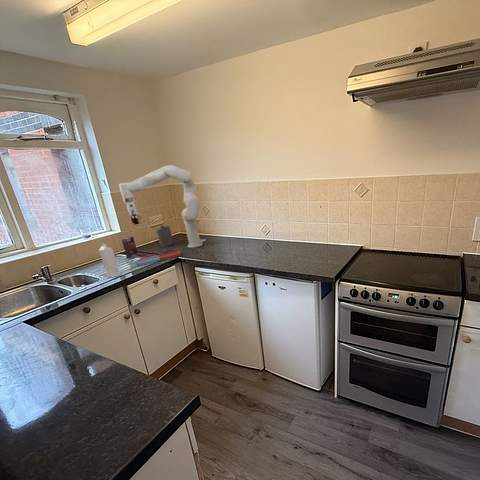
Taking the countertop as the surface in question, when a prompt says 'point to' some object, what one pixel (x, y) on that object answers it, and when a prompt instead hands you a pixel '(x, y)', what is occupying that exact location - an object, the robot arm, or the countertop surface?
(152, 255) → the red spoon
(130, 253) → the supplement box
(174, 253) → the terracotta tray
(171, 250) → the blue spoon
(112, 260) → the milk
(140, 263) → the pale blue tray
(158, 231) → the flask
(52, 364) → the countertop surface
